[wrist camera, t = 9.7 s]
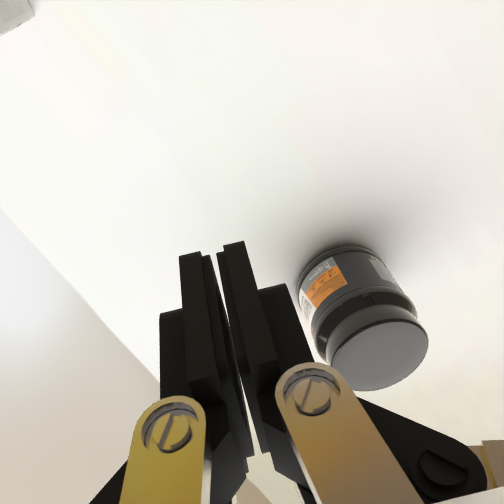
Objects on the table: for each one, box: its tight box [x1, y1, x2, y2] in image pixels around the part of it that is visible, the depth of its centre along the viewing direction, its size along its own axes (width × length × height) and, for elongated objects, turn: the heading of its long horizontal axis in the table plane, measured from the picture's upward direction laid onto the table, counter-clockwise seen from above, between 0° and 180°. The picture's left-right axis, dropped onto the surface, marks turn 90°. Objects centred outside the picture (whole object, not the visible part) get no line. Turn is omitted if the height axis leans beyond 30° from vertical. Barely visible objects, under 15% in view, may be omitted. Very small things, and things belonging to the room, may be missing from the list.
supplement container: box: [297, 246, 428, 391], centre depth 48 cm, size 10×10×12 cm
